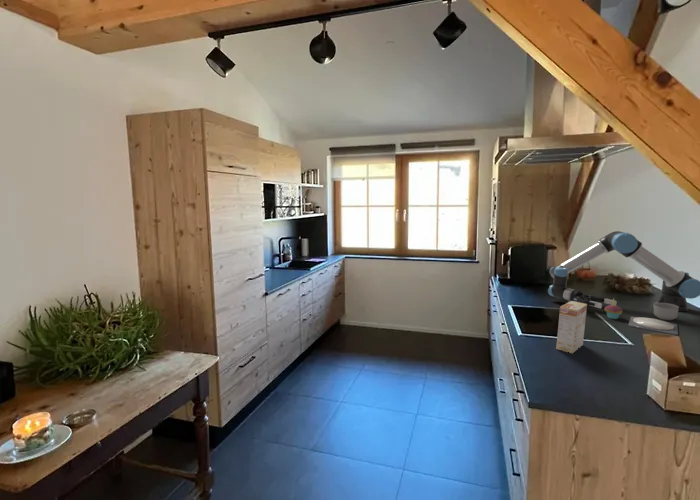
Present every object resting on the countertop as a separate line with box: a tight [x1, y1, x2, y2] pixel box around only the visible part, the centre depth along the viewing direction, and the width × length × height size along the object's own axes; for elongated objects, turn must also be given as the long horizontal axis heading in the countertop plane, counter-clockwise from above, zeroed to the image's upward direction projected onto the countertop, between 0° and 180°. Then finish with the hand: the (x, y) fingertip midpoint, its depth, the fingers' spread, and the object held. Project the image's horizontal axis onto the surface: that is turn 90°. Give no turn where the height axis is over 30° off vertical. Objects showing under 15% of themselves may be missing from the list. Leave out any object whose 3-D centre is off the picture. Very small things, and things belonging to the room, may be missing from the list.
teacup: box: [652, 301, 679, 321], centre depth 217 cm, size 14×11×8 cm
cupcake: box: [604, 297, 623, 320], centre depth 215 cm, size 9×8×12 cm
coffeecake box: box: [555, 301, 588, 354], centre depth 170 cm, size 15×7×20 cm, turn 133°
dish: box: [627, 316, 679, 336], centre depth 203 cm, size 20×20×2 cm
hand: (608, 304), depth 217 cm, fingers open, 13 cm apart
